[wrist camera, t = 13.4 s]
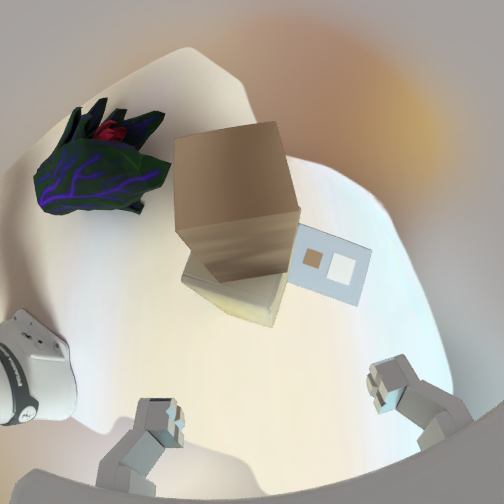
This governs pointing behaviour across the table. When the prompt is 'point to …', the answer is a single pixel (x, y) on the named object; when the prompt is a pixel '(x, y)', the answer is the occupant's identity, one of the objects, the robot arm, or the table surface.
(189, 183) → the walnut block
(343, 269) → the page
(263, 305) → the tall cream box
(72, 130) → the decorative plant
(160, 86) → the table surface
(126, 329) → the table surface
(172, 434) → the robot arm
